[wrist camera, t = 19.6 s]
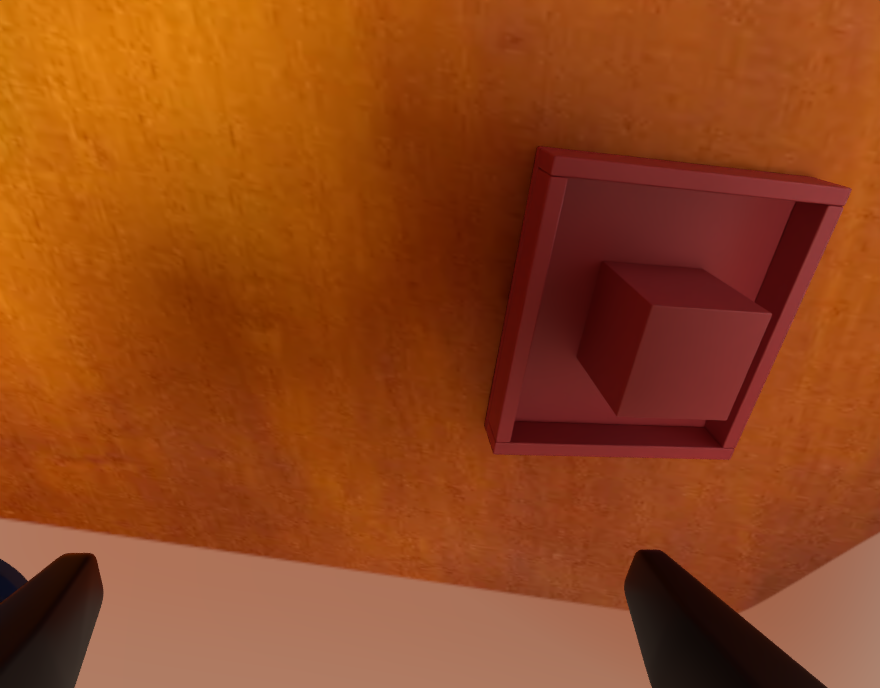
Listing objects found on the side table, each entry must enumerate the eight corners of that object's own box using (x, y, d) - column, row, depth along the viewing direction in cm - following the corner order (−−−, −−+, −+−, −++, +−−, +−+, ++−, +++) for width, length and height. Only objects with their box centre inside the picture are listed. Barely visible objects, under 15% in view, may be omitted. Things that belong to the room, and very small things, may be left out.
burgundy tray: (706, 432, 25) (730, 460, 23) (484, 425, 23) (493, 455, 21) (812, 176, 20) (853, 188, 18) (537, 145, 18) (554, 155, 16)
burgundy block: (670, 362, 22) (727, 420, 19) (575, 357, 22) (616, 417, 18) (703, 268, 20) (773, 313, 17) (601, 260, 20) (652, 305, 16)
